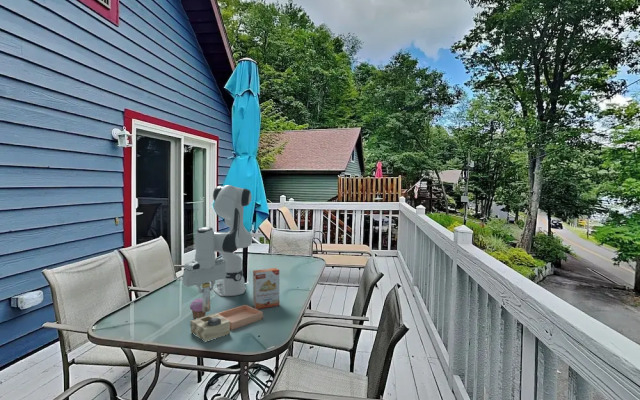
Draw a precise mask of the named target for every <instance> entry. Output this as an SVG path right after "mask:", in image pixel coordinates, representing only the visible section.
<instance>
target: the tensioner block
mask: <svg viewBox="0 0 640 400" xmlns="http://www.w3.org/2000/svg"><path fill="white" fill-rule="evenodd" d="M191 332H192V333H194V334H195V335H197V336H198V337H200V338H201V339H203V340H204V341H208V340H211V339H214V338H218V337H221V336H223V337H226V336H229V335H230V334H231V329H230V321H228V320H226V319H224V318H222V317H221V316H219V315H217V314H216V313H211V314H208V315H205V316H204V317H201V318H198V319H194V318H193V319H192V320H190V333H191ZM228 334H229V335H228ZM225 335H226V336H225ZM221 338H222V337H221ZM218 339H219V338H218Z"/></svg>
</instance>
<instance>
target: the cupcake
mask: <svg viewBox="0 0 640 400" xmlns="http://www.w3.org/2000/svg"><path fill="white" fill-rule="evenodd" d="M189 308H190V310H191V313H192V318H193V319H194V318H197V319H198V318H201V317H204V316H206V314H207V312H203V308H202V298H201V297H200V298H196V299H194V300H193V301H192V302H191V303H190V305H189Z"/></svg>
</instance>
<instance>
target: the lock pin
mask: <svg viewBox="0 0 640 400" xmlns="http://www.w3.org/2000/svg"><path fill="white" fill-rule="evenodd" d="M210 285H211V282H206V283H202V284H201V288H202V289H203V293H201V297H202V298H201V299H202V308H203V312H206V313H207V312H211V291H210Z"/></svg>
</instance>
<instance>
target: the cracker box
mask: <svg viewBox="0 0 640 400" xmlns="http://www.w3.org/2000/svg"><path fill="white" fill-rule="evenodd" d="M252 285H253V286H252V300H253V301H252V302H253V304H252V305H253V308H255V309H257V310H261V309H266V308H272V307H279V306H280V269H278V268H277V267H272V268H262V269H254V270H252Z"/></svg>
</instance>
